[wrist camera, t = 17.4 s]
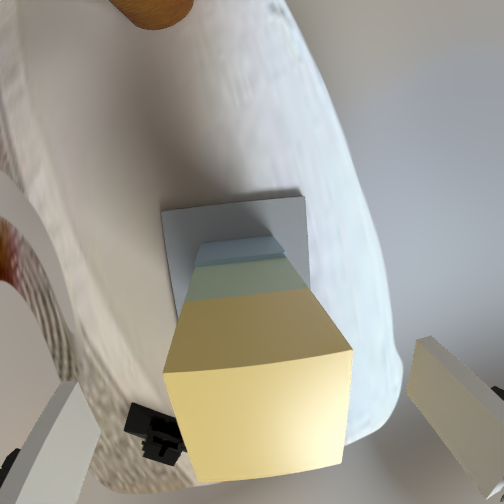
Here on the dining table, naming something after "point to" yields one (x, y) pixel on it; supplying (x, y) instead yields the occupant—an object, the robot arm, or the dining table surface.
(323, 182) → the dining table surface
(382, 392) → the dining table surface
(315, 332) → the ochre brick
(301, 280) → the sage brick
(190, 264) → the slate board
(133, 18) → the disposable coffee cup
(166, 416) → the black mounting plate
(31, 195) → the dining table surface
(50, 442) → the robot arm
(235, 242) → the blue base brick
